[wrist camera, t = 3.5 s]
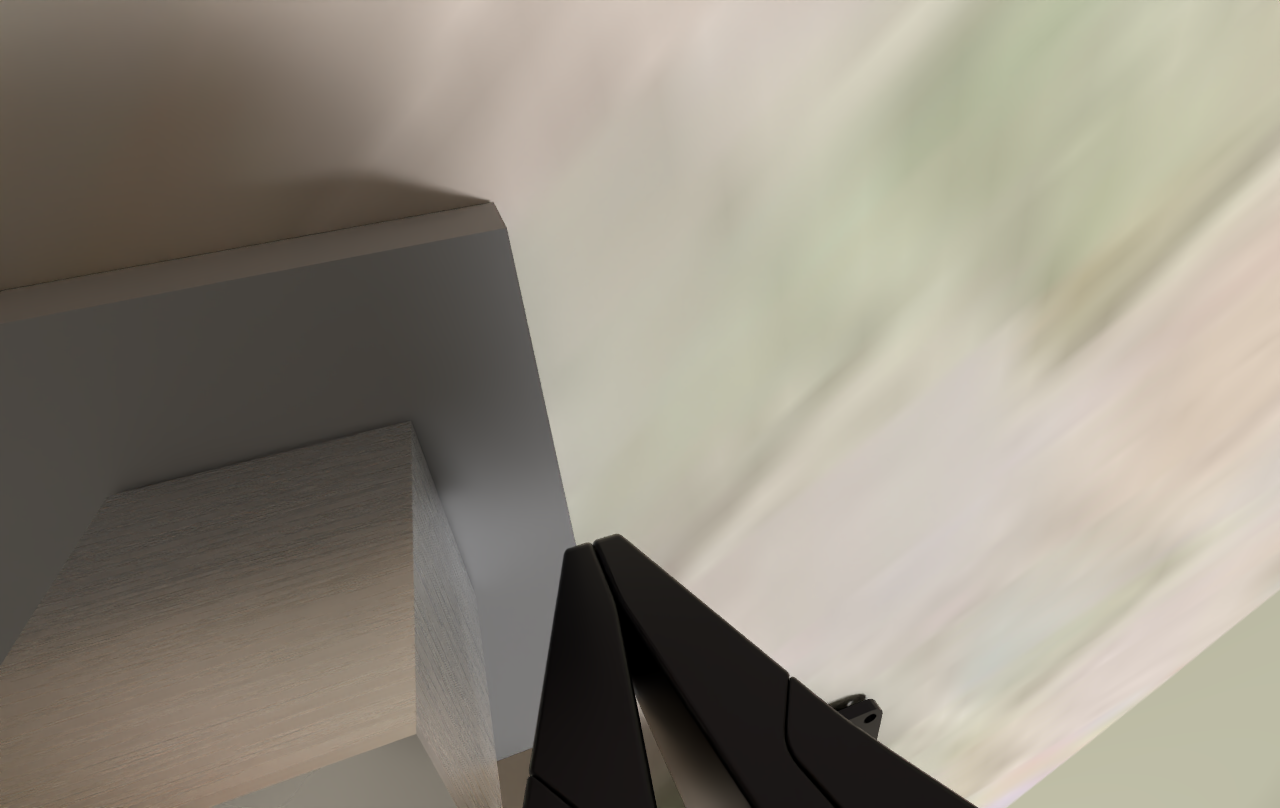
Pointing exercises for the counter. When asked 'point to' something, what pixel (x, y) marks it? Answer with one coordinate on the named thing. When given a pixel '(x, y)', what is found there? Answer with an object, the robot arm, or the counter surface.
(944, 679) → the counter surface
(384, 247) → the bolt plate
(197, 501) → the slide leg
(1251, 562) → the counter surface
